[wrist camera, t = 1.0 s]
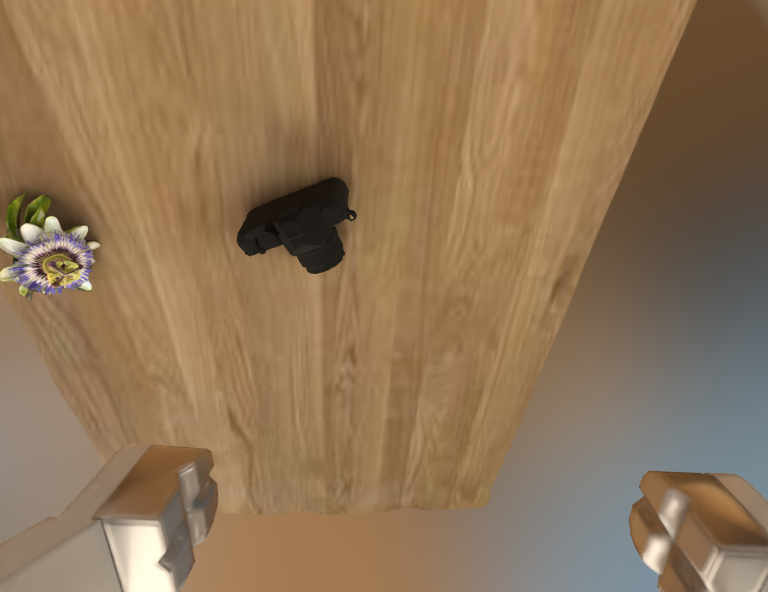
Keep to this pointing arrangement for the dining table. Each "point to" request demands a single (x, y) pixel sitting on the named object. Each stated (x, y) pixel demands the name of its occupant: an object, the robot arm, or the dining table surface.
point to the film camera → (301, 225)
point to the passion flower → (45, 250)
